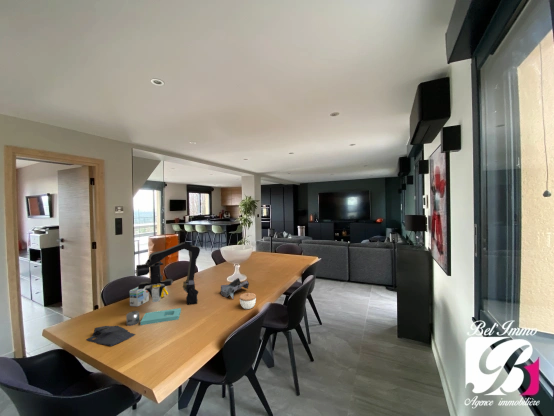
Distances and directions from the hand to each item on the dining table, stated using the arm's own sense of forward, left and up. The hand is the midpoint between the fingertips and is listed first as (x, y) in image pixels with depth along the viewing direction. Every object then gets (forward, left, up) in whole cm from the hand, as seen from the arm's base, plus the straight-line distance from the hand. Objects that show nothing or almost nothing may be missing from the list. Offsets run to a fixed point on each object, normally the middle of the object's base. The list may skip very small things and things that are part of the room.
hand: (156, 297), depth 144 cm
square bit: (0, 0, -2) cm, 2 cm away
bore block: (-4, +9, -10) cm, 14 cm away
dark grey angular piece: (-51, -16, -11) cm, 55 cm away
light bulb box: (+16, -21, -11) cm, 28 cm away
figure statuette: (+5, -28, -10) cm, 30 cm away
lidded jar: (-56, +12, -10) cm, 59 cm away
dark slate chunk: (+17, +22, -11) cm, 30 cm away
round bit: (+11, +10, -10) cm, 18 cm away
